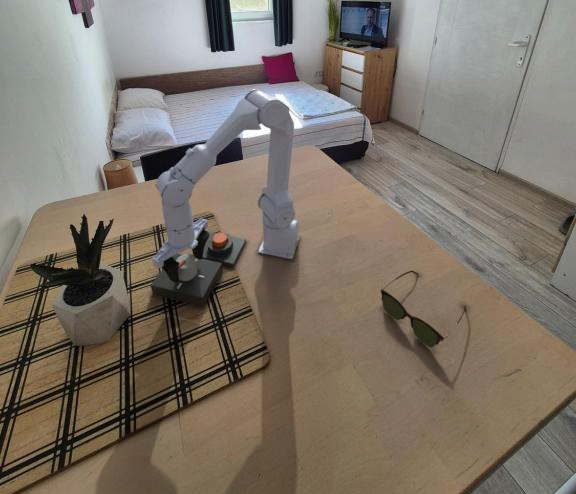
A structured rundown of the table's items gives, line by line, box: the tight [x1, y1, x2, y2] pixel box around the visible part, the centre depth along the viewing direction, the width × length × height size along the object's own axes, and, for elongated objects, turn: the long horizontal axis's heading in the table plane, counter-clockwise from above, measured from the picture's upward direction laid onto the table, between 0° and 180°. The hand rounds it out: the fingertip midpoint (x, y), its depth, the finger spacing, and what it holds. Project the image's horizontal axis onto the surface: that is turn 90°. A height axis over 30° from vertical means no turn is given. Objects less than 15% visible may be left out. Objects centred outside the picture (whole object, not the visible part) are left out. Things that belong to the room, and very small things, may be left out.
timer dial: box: [176, 253, 197, 281], centre depth 76 cm, size 4×4×4 cm
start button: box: [213, 232, 227, 248], centre depth 86 cm, size 4×4×2 cm
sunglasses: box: [380, 270, 467, 348], centre depth 72 cm, size 14×15×5 cm
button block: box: [202, 231, 247, 268], centre depth 87 cm, size 11×9×3 cm
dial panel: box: [150, 253, 224, 308], centre depth 77 cm, size 13×10×3 cm
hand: (186, 268), depth 76 cm, fingers open, 7 cm apart
